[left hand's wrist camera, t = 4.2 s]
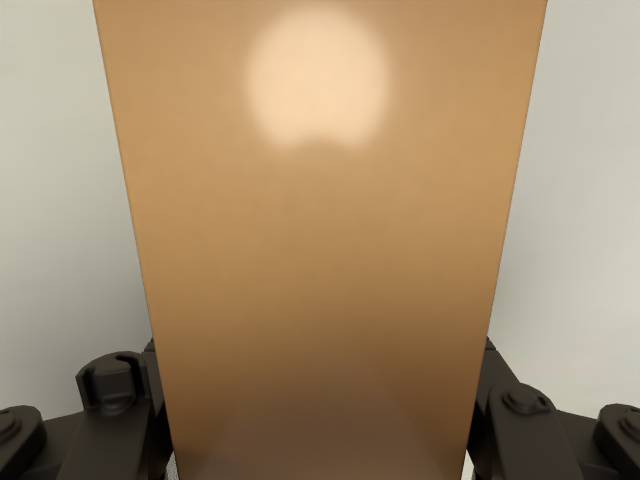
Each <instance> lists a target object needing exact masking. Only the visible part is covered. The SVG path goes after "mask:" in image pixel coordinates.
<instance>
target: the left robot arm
mask: <svg viewBox="0 0 640 480" xmlns="http://www.w3.org/2000/svg"><path fill="white" fill-rule="evenodd" d="M75 378H76V381H77V385H78V389H79V392H80V396H81V399H82V403H83V407H84V410H83V411H82V412H79V413H75V414H71V415H67V416H63V417H59V418H54V419H50V420H46V421H43V420H42V417H41V414H40V411H38V410H37V409H36V408H35V407H32V406H25V405H22V406H15V407H9V408H6V409H3V410H0V480H168V474H167V469H166V466H167V464H168V462H169V459H170V457H171V454H172V452H173V444H172V439H171V433H170V428H169V422H168V417H167V411H166V406H165V400H164V394H163V389H162V383H161V378H160V372H159V367H158V361H157V356H156V350H155V345H154V339H153V338H152V339H151V342H149V343H148V345H147V346H146V348H145V349H144V352H142V353H141V354H139V353H135V352H131V351H123V352H115V353H111V354H107V355H104V356H102V357H99V358H97V359H95V360H93V361H91V362H90V363H88V364H87V365H86V366H84V367H83V368H82V369H81V370H80V371H79V373H78V374H77V375H76V376H75ZM467 451H468V453H469V456H470V458H471V460H472V463H473V465H474V469H473V474H472V479H471V480H640V409H639V408H636V407H633V406H630V405H623V404H610V405H606V406H605V407H603V408H602V409H601V410H600V413H599V416H598V419H593V418H588V417H584V416H580V415H575V414H571V413H567V412H563V411H560V410H557V409H556V408H555V406H554V405H553V403H552V402H551V400H550V399H549V398H548V397H547V396H545V395H544V394H543V393H542V392H541V391H539V390H537V389H535V388H533V387H531V386H529V385H527V384H523V383H520V382H519V381H518V379H517V378H516V376H515V375H514V373H513V372H512V371H511V369H510V368H509V366H508V365H507V363H506V362H505V361H504V359H503V358H502V356H501V355H500V353H499V352H498V351H496V348H495V346H494V345H493V343H492V342H491V341H489V338H488V336H487V338H486V344H485V350H484V355H483V361H482V366H481V372H480V377H479V383H478V388H477V394H476V399H475V405H474V410H473V416H472V421H471V427H470V433H469V438H468V444H467Z"/></svg>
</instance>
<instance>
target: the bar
mask: <svg viewBox="0 0 640 480" xmlns="http://www.w3.org/2000/svg"><path fill="white" fill-rule="evenodd" d="M92 1H93V7H94V12H95V18H96V24H97V29H98V35H99V40H100V46H101V51H102V57H103V62H104V68H105V73H106V79H107V84H108V90H109V96H110V101H111V107H112V112H113V118H114V123H115V129H116V134H117V140H118V145H119V151H120V156H121V162H122V167H123V173H124V179H125V184H126V190H127V195H128V201H129V206H130V212H131V217H132V223H133V228H134V234H135V239H136V245H137V251H138V256H139V262H140V267H141V273H142V278H143V284H144V289H145V295H146V300H147V306H148V311H149V317H150V323H151V328H152V334H153V339H154V345H155V350H156V356H157V361H158V367H159V372H160V378H161V383H162V389H163V394H164V400H165V406H166V411H167V417H168V422H169V428H170V433H171V439H172V444H173V450H174V455H175V461H176V466H177V472H178V478H179V480H461V477H462V471H463V466H464V460H465V455H466V449H467V444H468V438H469V433H470V427H471V421H472V416H473V410H474V405H475V399H476V394H477V388H478V383H479V377H480V372H481V366H482V361H483V355H484V350H485V344H486V338H487V333H488V327H489V322H490V316H491V311H492V305H493V300H494V294H495V289H496V283H497V278H498V272H499V266H500V261H501V255H502V250H503V244H504V239H505V233H506V228H507V222H508V217H509V211H510V206H511V200H512V195H513V189H514V183H515V178H516V172H517V167H518V161H519V156H520V150H521V145H522V139H523V134H524V128H525V123H526V117H527V112H528V106H529V100H530V95H531V89H532V84H533V78H534V73H535V67H536V62H537V56H538V51H539V45H540V40H541V34H542V29H543V23H544V17H545V12H546V6H547V1H548V0H92Z"/></svg>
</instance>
